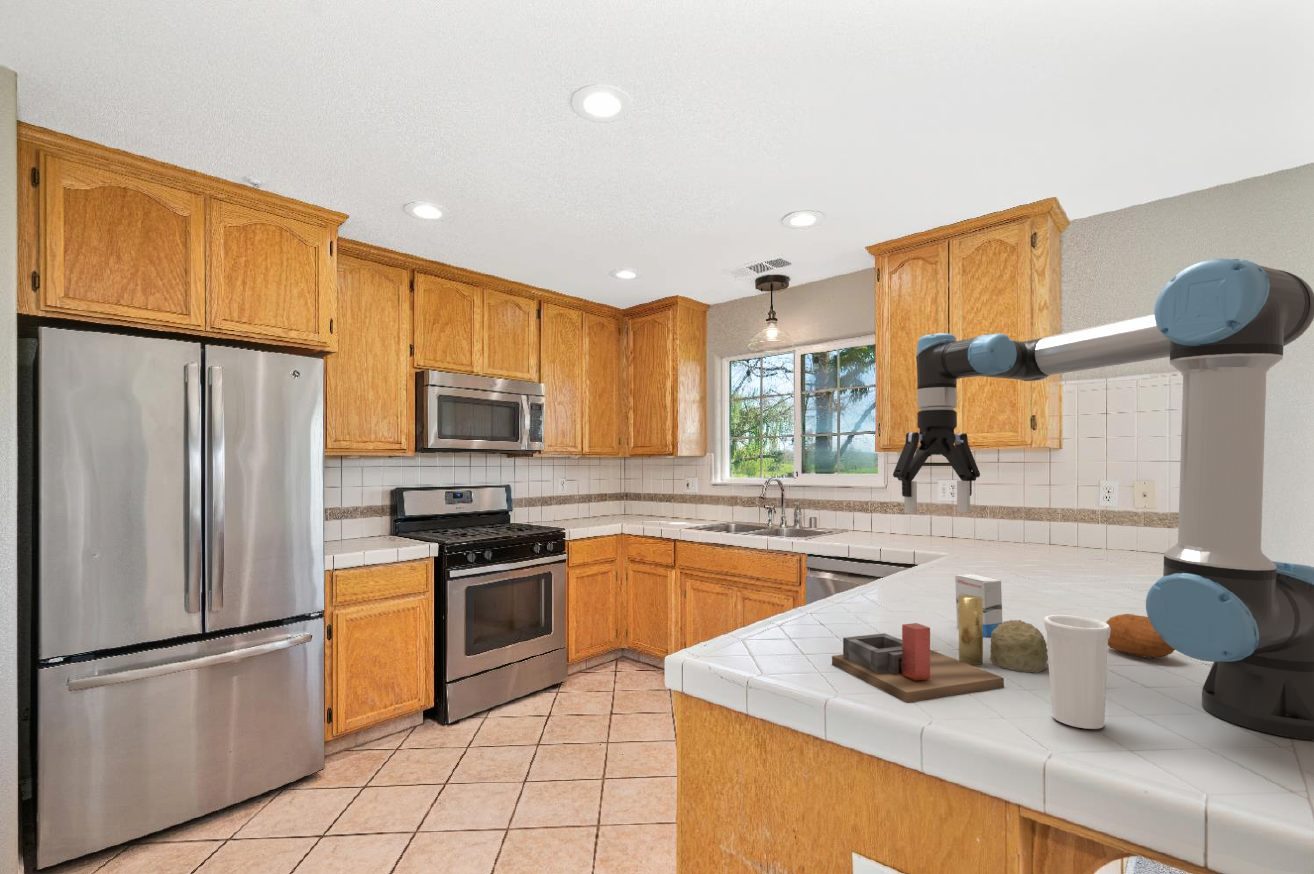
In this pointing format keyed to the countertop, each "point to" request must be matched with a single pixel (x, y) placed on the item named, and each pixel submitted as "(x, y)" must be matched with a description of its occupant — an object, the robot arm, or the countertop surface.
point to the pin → (915, 651)
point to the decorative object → (1018, 647)
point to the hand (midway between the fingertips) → (937, 512)
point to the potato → (1136, 637)
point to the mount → (880, 668)
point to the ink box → (989, 594)
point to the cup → (1077, 669)
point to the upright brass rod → (970, 629)
